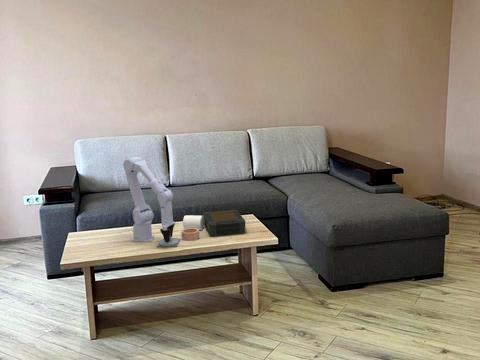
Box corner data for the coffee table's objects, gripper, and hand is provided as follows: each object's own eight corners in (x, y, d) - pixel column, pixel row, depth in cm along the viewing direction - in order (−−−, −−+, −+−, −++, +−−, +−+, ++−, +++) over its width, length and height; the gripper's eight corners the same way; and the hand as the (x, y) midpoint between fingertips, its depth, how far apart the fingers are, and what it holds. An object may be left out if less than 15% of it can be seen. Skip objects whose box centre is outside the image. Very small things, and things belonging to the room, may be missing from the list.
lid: (157, 246, 252) (156, 237, 251) (161, 239, 262) (160, 231, 261) (176, 245, 252) (176, 237, 251) (180, 239, 261) (179, 231, 261)
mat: (157, 247, 252) (157, 246, 252) (161, 240, 262) (161, 239, 262) (176, 246, 252) (176, 245, 252) (180, 240, 262) (180, 239, 261)
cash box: (247, 234, 269) (247, 220, 267) (210, 237, 265) (209, 223, 263) (237, 221, 293) (237, 208, 291) (203, 224, 289) (202, 211, 287)
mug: (200, 232, 275) (199, 218, 273) (183, 231, 277) (182, 217, 276) (206, 225, 287) (205, 212, 285) (189, 225, 289) (188, 211, 287)
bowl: (180, 240, 261) (180, 233, 260) (183, 235, 270) (183, 228, 269) (198, 240, 261) (197, 233, 260) (200, 235, 269) (199, 227, 269)
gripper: (172, 217, 246) (173, 244, 249) (177, 210, 261) (178, 235, 263) (157, 218, 247) (159, 244, 250) (163, 210, 261) (165, 235, 264)
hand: (168, 239), depth 256 cm, fingers open, 7 cm apart
